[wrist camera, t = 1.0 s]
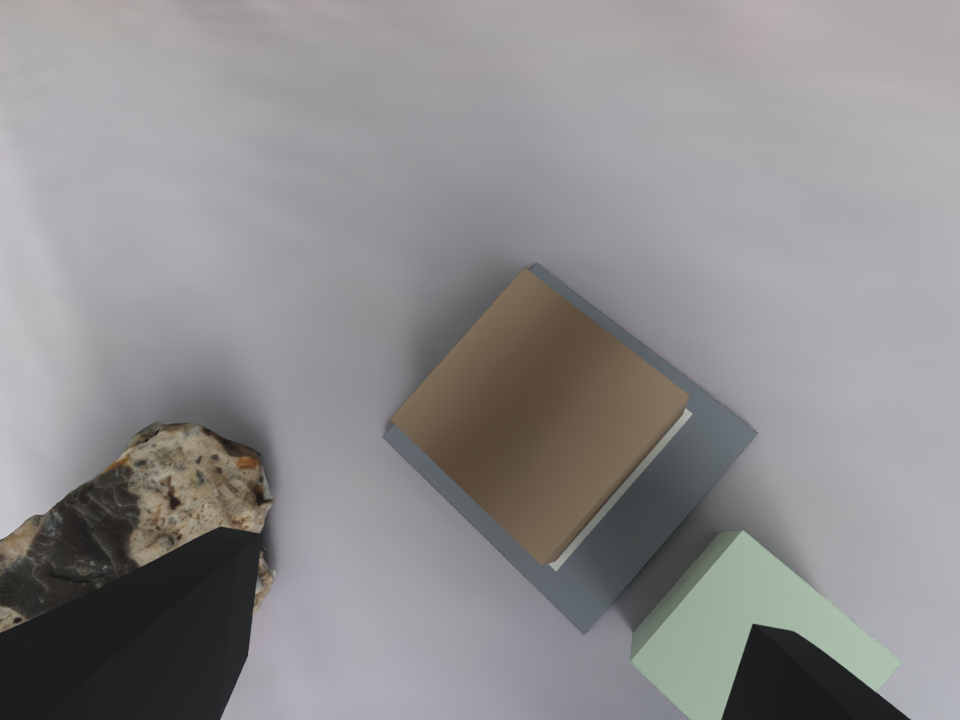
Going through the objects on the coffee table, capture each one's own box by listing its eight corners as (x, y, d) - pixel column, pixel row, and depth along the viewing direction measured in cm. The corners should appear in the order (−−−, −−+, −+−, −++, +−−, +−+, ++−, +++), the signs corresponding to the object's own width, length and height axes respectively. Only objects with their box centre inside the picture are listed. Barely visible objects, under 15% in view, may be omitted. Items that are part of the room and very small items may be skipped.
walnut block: (683, 414, 21) (689, 395, 18) (555, 561, 21) (541, 565, 18) (539, 300, 23) (524, 267, 20) (421, 433, 23) (389, 419, 20)
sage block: (837, 630, 19) (901, 661, 14) (745, 739, 19) (779, 806, 14) (719, 531, 20) (743, 530, 16) (632, 632, 20) (630, 661, 16)
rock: (40, 427, 25) (-207, 697, 17) (133, 332, 22) (-125, 618, 14) (232, 551, 29) (97, 822, 21) (340, 486, 25) (226, 785, 17)
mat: (756, 434, 21) (759, 432, 20) (585, 633, 20) (583, 635, 20) (538, 267, 24) (536, 261, 23) (386, 438, 23) (381, 436, 23)
